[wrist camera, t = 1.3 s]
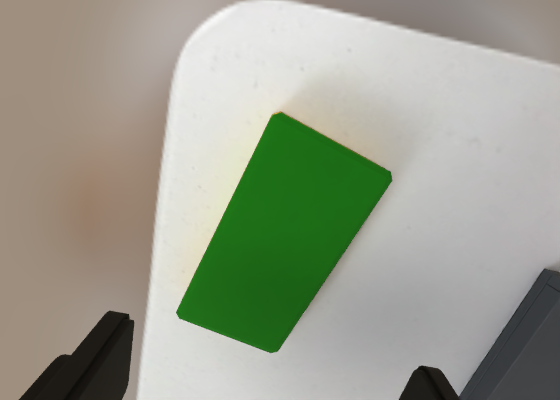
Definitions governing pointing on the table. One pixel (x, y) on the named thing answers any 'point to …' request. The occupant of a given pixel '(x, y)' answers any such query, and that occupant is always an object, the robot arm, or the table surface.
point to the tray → (524, 350)
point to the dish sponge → (281, 234)
